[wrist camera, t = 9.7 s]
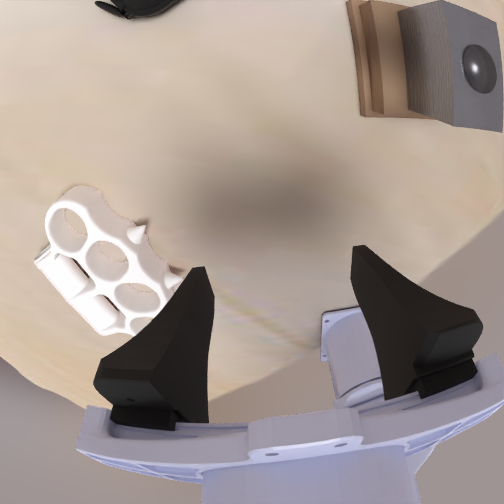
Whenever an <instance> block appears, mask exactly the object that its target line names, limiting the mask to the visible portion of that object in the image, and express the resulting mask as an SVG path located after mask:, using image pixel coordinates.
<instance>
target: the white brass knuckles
mask: <svg viewBox="0 0 504 504" xmlns="http://www.w3.org/2000/svg"><path fill="white" fill-rule="evenodd" d="M65 208H68V209H71V210H73V211H74V212H76V213H77V214H78V215H79V216H80V217H81V218H82V220H83V221H84V223H85V225H86V228H87V233H88V234H80V233H78V232H76V231H75V230H73V229H72V228H71V227H70V225H69V224H68V222H67V220H66V217H65ZM145 228H146V225H142V226H137V225H136V224H134V223H133V222H132V221H131V220H128V219H125V218H122V217H121V216H119V215H117V214H116V213H115V212H114V211H112V210H111V208H110V207H109V206H108V205H107V203H106V201H105V199H104V197H103V194H102V193H101V192H100V191H99V190H97V189H95V188H93V187H90V186H85V185H80V186H75V187H73V188H71V189H69V190H68V191H67V192H66V193H65V194H63V195H62V196H61V197H60V198H59V199H58V200H57V201H55V202H54V203H53V204H52V205H51V206H50V208H49V209H48V211H47V214H46V217H45V229H46V234H47V237H48V239H49V241H50V243H51V244H50V245H48V246H47V247H46V248H45V249H44V250H42V251H41V252H40V253H39V254H38V255H37V257H36V258H35V259H34V262H35V265H36V267H37V268H39V269H40V270H41V271H42V272H43V274H44V275H45V276H46V277H47V279H48V280H49V281H50V282H51V283H52V284H53V286H54V287H55V288H56V289H57V290H58V291H59V293H60V294H61V295H62V296H63V297H64V299H65V300H66V301H67V302H68V303H69V304H70V305H71V306H72V307H73V308H74V309H75V310H76V311H77V312H78V313H79V314H80V315H81V316H82V317H83V318H84V319H85V320H86V321H87V322H88V323H89V324H90V325H91V326H92V327H93V329H94V330H95V331H96V332H97V333H99V334H100V335H103V336H105V335H110V334H114V333H117V332H122V333H127V334H131V335H133V336H135V335H137V334H138V333H139V332H140V331H141V330H142V329H143V328H144V327H145V326H147V325H148V324H149V323H150V322H151V321H152V320H151V319H149V318H147V317H153V318H155V316H156V315H157V314H158V313H159V312H160V311H161V310H162V309H163V307H164V306H165V305H166V304H167V302H168V301H169V300H170V299H171V297H172V296H173V295H174V292H173V286H174V285H175V284H177V283H178V282H180V281H181V280H182V279H184V278H183V277H180V276H178V275H175V274H173V273H171V271H170V268H169V266H168V263H166V262H164V261H163V260H161V259H160V258H159V257H158V256H157V255H156V254H155V253H154V252H153V250H152V248H151V246H150V244H149V241H148V236H147V235H146V234H145V233H144V232H145ZM99 241H108V242H111V243H113V244H115V245H117V246H118V247H119V248H120V249H121V250H122V251H123V252H124V253H125V255H126V256H127V259H128V260H127V261H123V262H118V261H114V260H112V259H110V258H109V257H107V256H106V255H105V254H104V253H103V252H102V250H101V248H100V246H99ZM72 258H74V259H75V260H77V261H78V263H79V264H80V265H81V266H82V268H83V269H84V270H85V271H86V272H87V274H88V275H89V276H90V277H88V278H87V276H86V275H85V274H84V273H83V272H82V270H81V269H80V268H79V267H78V266H77V264H76V263H75V262H74V261H73V259H72ZM133 282H135V283H141V284H144V285H146V286H148V287H150V288H151V289H153V290H154V291H155V292H141V291H138V290H136V289H134V288H132V287H131V286H130V285H129V284H128V283H133ZM103 295H105V296H107V297H108V298H109V299H110V300H111V301H112V302H113V303H114V304H115V305H116V306H117V308H118V310H116V309H115V308H114V307H113V306H112V305H111V304H110V302H109V301H108V300H107V299H106V298H105V297H104V296H103Z"/></svg>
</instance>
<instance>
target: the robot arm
mask: <svg viewBox="0 0 504 504" xmlns="http://www.w3.org/2000/svg"><path fill="white" fill-rule="evenodd" d="M350 279H351V283H352V286H353V290H354V293H355V296H356V299H357V301H358V304H359V306H360V307H357V308H352V309H346V310H340V311H334V312H328V313H325V314H323V315H322V332H321V351H320V360H321V361H322V362H325V361H328V362H329V366H330V371H331V376H332V381H333V386H334V391H335V396H336V399H337V400H335V401H333V403H334V408H333V409H329V410H322V411H316V412H309V413H302V414H294V415H286V416H276V417H268V418H262V419H258V420H256V421H254V422H249V423H217V424H216V423H214V424H213V423H212V424H211V423H209V417H208V394H207V371H208V352H209V346H210V339H211V332H212V326H213V319H214V298H215V297H214V294H213V291H212V288H211V285H210V282H209V279H208V276H207V273H206V270H205V266H203V267H195V268H192V269H191V271H190V272H189V273H188V275H187V276H186V278H185V279H184V281H183V282H182V283H181V285H180V286H179V288H178V289H177V290H176V292H175V293H174V295H173V296H172V297H171V299H170V300H169V301H168V302H167V304H166V305H165V306H164V307H163V309H162V310H161V311H160V312H159V313H158V314H157V315H156V316H155V318H154V319H153V320H152V321H151V322H150V323H149V324H148V325H147V326H145V327H144V328H143V329H142V330H141V331H140V332H139V333H138V334H137V335H135V336H134V337H133V338H132V339H130V340H129V341H128V342H127V343H125V344H124V345H122V346H121V347H120V348H118V349H117V350H115V351H114V352H112V353H110V354H109V355H107V356H106V357H104V358H102V359H101V361H100V364H99V366H98V369H97V372H96V375H95V378H94V381H93V385H94V387H95V388H96V390H97V391H98V392H99V393H100V394H101V395H102V396H103V397H104V398H106V399H107V400H108V401H109V402H110V403H111V404H113V408H112V411H111V410H109V409H106V408H102V407H96V406H91V405H88V406H87V408H86V411H85V415H84V419H83V422H82V426H81V430H80V434H79V438H78V442H77V446H76V449H77V451H79V452H81V453H83V454H85V455H87V456H89V457H91V458H93V459H95V460H97V461H99V462H101V463H103V464H105V465H108V466H112V467H116V468H120V469H124V470H128V471H132V472H137V473H141V474H145V475H150V476H155V477H160V478H165V479H171V480H177V481H185V482H191V483H201V484H202V504H422V503H421V498H420V493H419V488H418V483H417V478H416V474H415V473H416V472H417V471H418V469H419V468H420V467H421V466H422V464H423V463H424V462H425V460H426V459H427V458H428V457H429V455H430V454H431V453H432V451H433V450H434V448H435V445H436V444H439V443H441V442H443V441H445V440H447V439H449V438H451V437H453V436H455V435H457V434H458V433H461V432H463V431H464V430H466V429H468V428H470V427H472V426H474V425H475V424H477V423H479V422H481V421H483V420H484V419H486V418H488V417H489V416H490V415H491V414H493V413H494V412H495V411H496V410H497V409H499V408H500V407H501V406H502V405H503V404H504V369H503V366H502V364H501V362H500V360H499V358H498V356H497V354H496V353H493V354H491V355H488V356H487V357H484V358H482V359H480V360H479V361H477V362H476V363H475V364H474V362H473V360H472V358H473V357H474V353H473V351H472V348H473V347H474V345H475V344H476V342H477V341H478V339H479V337H480V335H481V333H482V330H483V324H482V322H481V320H480V319H479V317H478V315H477V314H476V312H475V311H474V310H473V309H470V308H467V307H464V306H461V305H457V304H455V303H452V302H450V301H447V300H445V299H443V298H441V297H438V296H436V295H434V294H433V293H430V292H429V291H427V290H425V289H423V288H421V287H420V286H418V285H417V284H415V283H413V282H412V281H410V280H409V279H407V278H406V277H404V276H403V275H402V274H400V273H399V272H398V271H396V270H395V269H394V268H392V267H391V266H390V265H389V264H387V263H386V262H385V261H384V260H382V259H381V258H380V257H379V256H378V255H376V254H375V253H374V252H373V251H372V250H370V249H369V248H368V247H367V246H365V245H359V246H353V251H352V265H351V277H350Z"/></svg>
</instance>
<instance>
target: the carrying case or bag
mask: <svg viewBox="0 0 504 504" xmlns="http://www.w3.org/2000/svg"><path fill="white" fill-rule="evenodd" d="M111 1H112V2H113V3H114V4H115V5H116V6H117V7H118V8H117V7H115V6H113V5H111V4H108V3H105V2H102V1H96V2H95V4H96V5H97V6H98V7H99V8H101V9H103V10H105V11H107V12H109V13H111V14H113V15H116V16H118V17H125V18H127V19H132V18H134V17H148V16H152V15H155V14H158V13H160V12H162V11H164V10H166V9H167V8H168V7H170V6H171V5H172V4H174V3H175V2H177V1H178V0H111ZM128 17H131V18H128Z"/></svg>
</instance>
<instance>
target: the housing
mask: <svg viewBox="0 0 504 504" xmlns="http://www.w3.org/2000/svg"><path fill="white" fill-rule="evenodd" d="M397 15H398V20H399V25H400V31H401V38H402V45H403V53H404V61H405V71H406V84H407V102H408V110H411V111H414V112H417V113H420V114H423V115H425V116H428V117H431V118H434V119H436V120H439V121H442V122H444V123H447V124H449V125H452V126H456V127H466V128H474V129H482V130H489V131H496V132H502V129H503V73H502V61H501V51H500V44H499V37H498V31H497V25H496V22H494V21H492V20H490V19H488V18H486V17H483V16H481V15H479V14H477V13H475V12H472V11H470V10H468V9H465V8H463V7H460V6H457V5H455V4H452V3H449V2H446V1H444V0H439V1H434V2H430V3H426V4H422V5H418V6H414V7H410V8H407V9H403V10H400V11H397Z"/></svg>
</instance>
